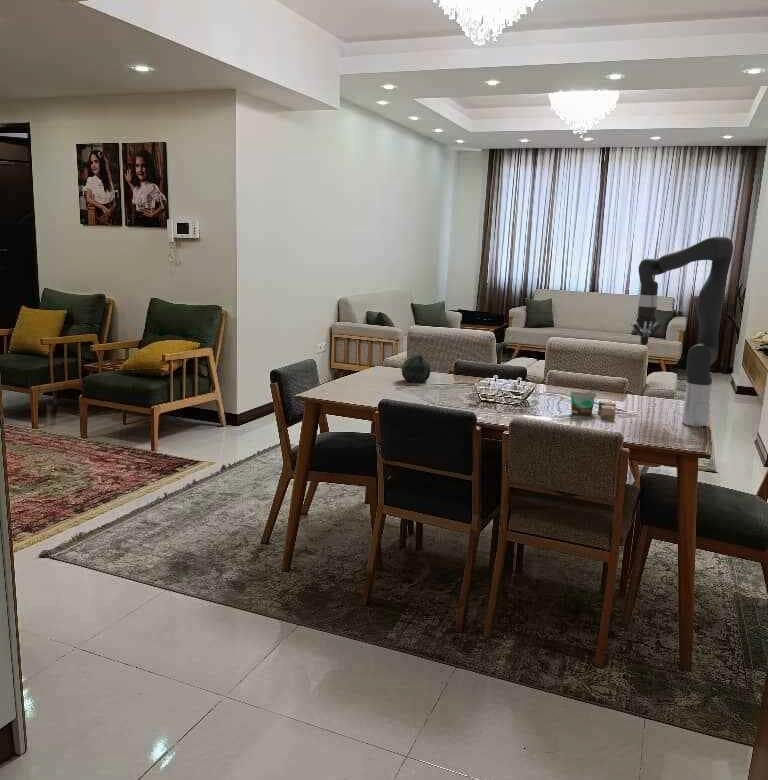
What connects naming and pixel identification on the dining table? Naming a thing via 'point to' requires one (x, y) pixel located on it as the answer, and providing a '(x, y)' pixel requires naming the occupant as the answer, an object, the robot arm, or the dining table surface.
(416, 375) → the squash
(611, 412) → the marked block
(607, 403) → the marked block
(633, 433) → the dining table surface
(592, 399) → the food container
